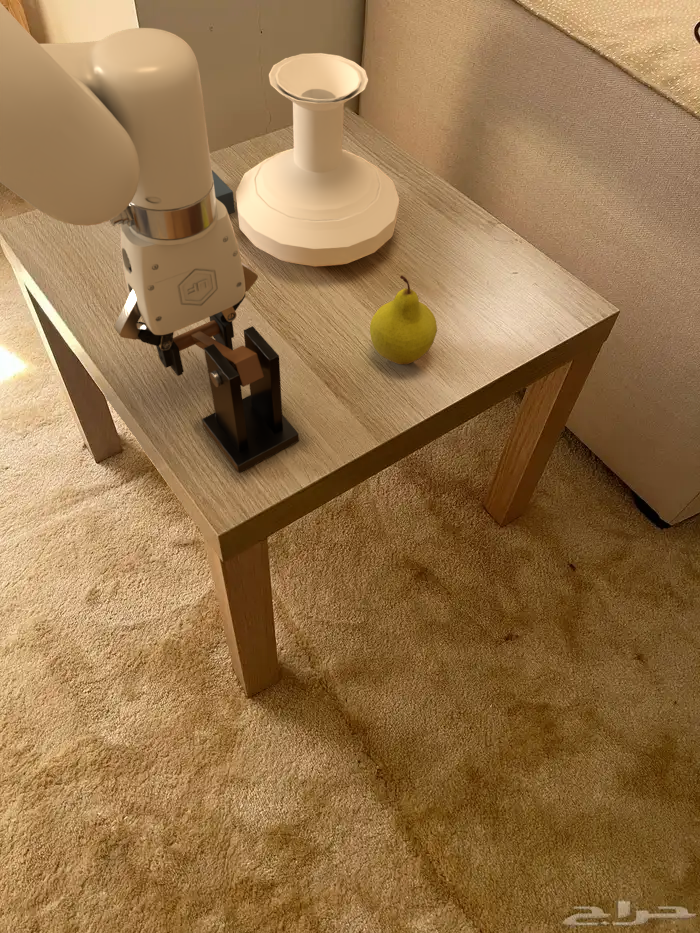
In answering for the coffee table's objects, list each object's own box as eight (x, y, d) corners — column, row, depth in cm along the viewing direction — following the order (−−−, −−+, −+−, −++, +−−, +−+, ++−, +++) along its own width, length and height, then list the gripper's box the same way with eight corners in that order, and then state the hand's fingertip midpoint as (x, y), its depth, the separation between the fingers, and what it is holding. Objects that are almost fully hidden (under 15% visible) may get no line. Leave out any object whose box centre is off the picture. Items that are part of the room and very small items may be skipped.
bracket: (203, 426, 71) (186, 343, 61) (262, 396, 74) (254, 312, 64) (238, 473, 68) (226, 394, 58) (299, 441, 71) (297, 360, 61)
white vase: (421, 265, 87) (446, 112, 71) (266, 300, 82) (255, 145, 66) (360, 174, 97) (370, 22, 81) (219, 200, 92) (200, 45, 76)
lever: (174, 354, 71) (166, 333, 70) (217, 335, 73) (210, 314, 71) (229, 394, 61) (220, 370, 60) (277, 370, 63) (270, 346, 62)
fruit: (402, 323, 81) (414, 235, 71) (443, 357, 78) (463, 271, 68) (356, 350, 78) (363, 263, 68) (398, 386, 75) (411, 301, 65)
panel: (158, 250, 86) (153, 228, 83) (123, 208, 90) (117, 186, 88) (242, 219, 90) (240, 197, 87) (205, 180, 94) (202, 158, 92)
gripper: (92, 264, 53) (140, 414, 68) (281, 192, 59) (287, 344, 74) (52, 212, 57) (106, 366, 72) (235, 149, 63) (250, 303, 78)
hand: (198, 353), depth 73 cm, fingers closed on lever, 5 cm apart
